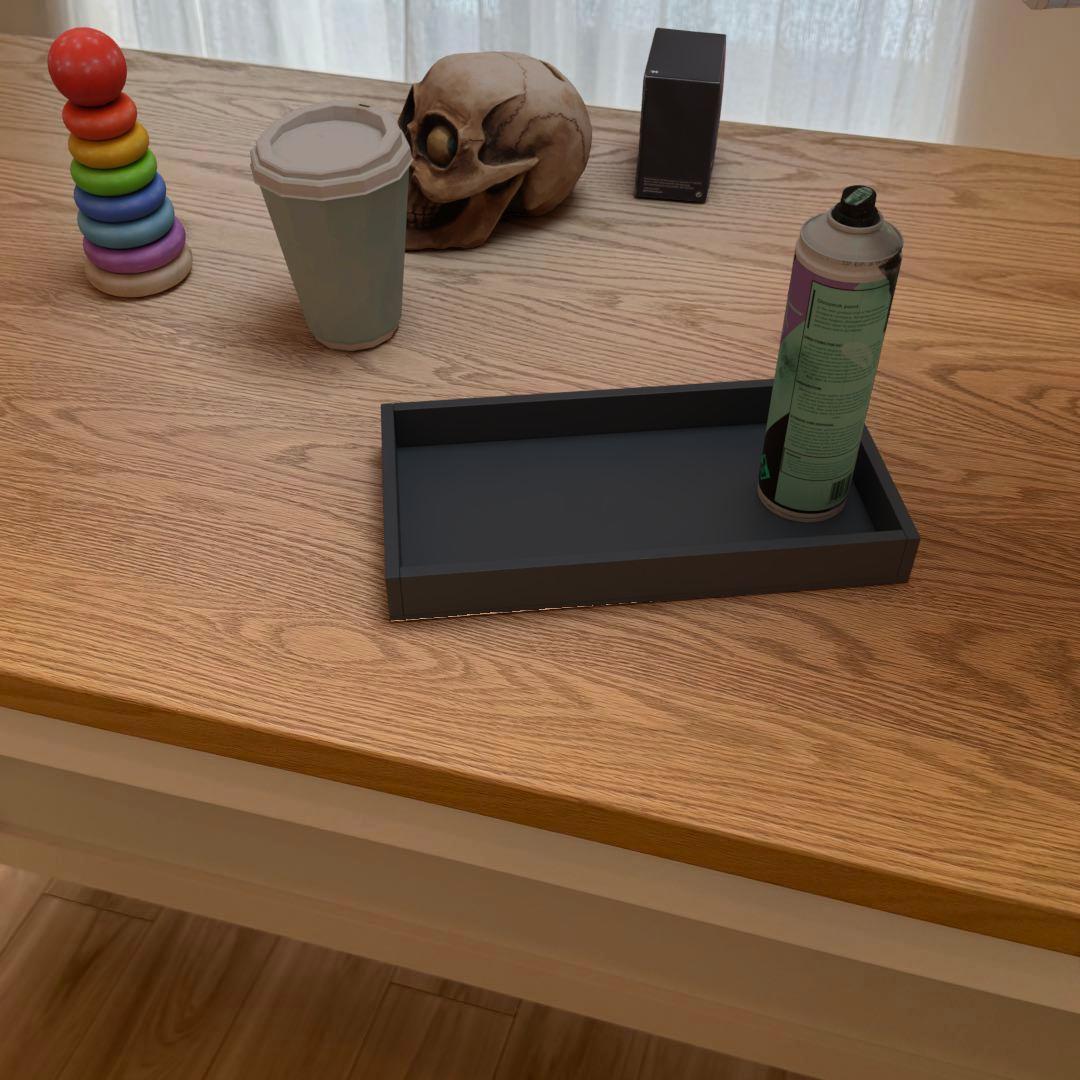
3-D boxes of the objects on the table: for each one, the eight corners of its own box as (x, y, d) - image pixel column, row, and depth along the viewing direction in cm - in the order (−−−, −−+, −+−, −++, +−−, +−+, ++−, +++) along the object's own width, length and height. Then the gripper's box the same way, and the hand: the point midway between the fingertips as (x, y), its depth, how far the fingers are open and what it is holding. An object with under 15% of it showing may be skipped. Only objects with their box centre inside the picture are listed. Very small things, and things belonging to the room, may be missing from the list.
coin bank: (338, 235, 99) (335, 65, 91) (446, 167, 112) (452, 12, 103) (511, 289, 95) (525, 115, 86) (604, 212, 107) (623, 54, 99)
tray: (832, 417, 82) (841, 373, 80) (908, 582, 71) (921, 538, 69) (385, 447, 80) (380, 403, 78) (390, 623, 69) (384, 578, 66)
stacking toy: (77, 262, 97) (7, 18, 84) (178, 238, 99) (125, -3, 86) (102, 312, 92) (31, 60, 79) (207, 285, 94) (156, 37, 81)
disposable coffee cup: (370, 385, 85) (347, 182, 75) (246, 342, 89) (207, 143, 78) (452, 311, 92) (442, 115, 81) (334, 274, 95) (309, 82, 85)
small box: (710, 205, 103) (723, 81, 96) (632, 199, 104) (639, 76, 97) (717, 148, 111) (730, 30, 104) (644, 143, 112) (652, 25, 105)
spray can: (851, 473, 77) (919, 175, 64) (842, 530, 74) (912, 226, 60) (763, 457, 79) (812, 161, 65) (750, 513, 75) (798, 210, 61)
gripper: (1365, -385, 51) (1237, -30, 60) (876, -371, 49) (824, -10, 59) (1465, -361, 46) (1310, 18, 55) (929, -346, 44) (864, 42, 54)
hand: (1057, 4), depth 57 cm, fingers closed
